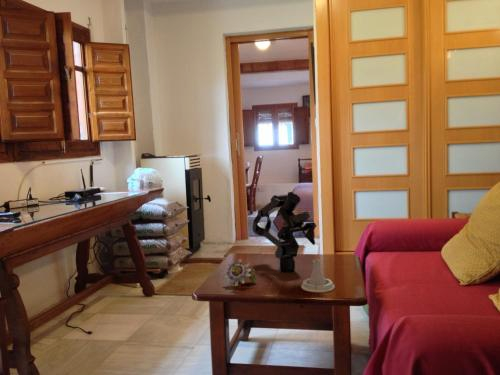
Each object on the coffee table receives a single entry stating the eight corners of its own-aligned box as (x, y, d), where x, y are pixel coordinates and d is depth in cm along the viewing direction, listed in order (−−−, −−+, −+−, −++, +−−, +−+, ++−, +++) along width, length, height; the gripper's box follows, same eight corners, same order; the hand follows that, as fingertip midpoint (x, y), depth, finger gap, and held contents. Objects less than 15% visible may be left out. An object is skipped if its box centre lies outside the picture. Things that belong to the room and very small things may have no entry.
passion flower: (237, 298, 176) (219, 277, 174) (240, 285, 186) (223, 265, 184) (259, 284, 173) (240, 262, 171) (261, 272, 183) (244, 251, 181)
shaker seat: (305, 293, 163) (305, 287, 163) (298, 283, 176) (298, 278, 176) (338, 291, 165) (338, 285, 164) (329, 281, 177) (329, 276, 177)
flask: (325, 282, 174) (324, 258, 173) (327, 288, 167) (327, 262, 166) (307, 282, 174) (306, 258, 173) (308, 288, 167) (308, 263, 166)
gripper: (280, 208, 181) (298, 237, 172) (313, 203, 191) (331, 231, 183) (269, 224, 188) (286, 253, 180) (301, 219, 198) (318, 246, 190)
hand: (306, 245), depth 183 cm, fingers open, 9 cm apart
